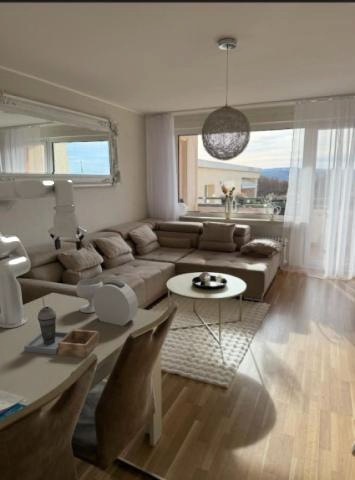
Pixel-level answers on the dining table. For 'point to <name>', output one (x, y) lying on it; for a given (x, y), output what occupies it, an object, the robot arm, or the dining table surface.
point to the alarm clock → (115, 303)
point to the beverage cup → (47, 324)
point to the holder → (77, 349)
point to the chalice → (88, 292)
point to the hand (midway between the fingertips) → (68, 249)
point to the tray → (40, 347)
